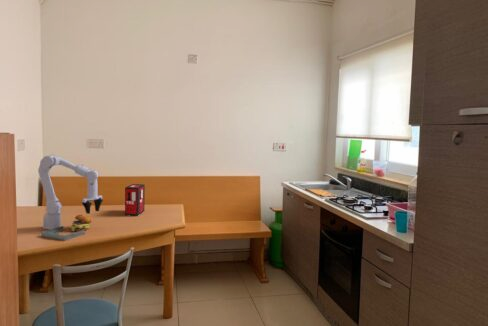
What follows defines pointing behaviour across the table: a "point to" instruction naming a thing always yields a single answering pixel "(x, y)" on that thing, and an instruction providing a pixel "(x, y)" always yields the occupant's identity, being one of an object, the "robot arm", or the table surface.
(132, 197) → the cleaning product box
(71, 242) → the table surface
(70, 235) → the rack
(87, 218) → the cheeseburger
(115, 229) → the table surface
